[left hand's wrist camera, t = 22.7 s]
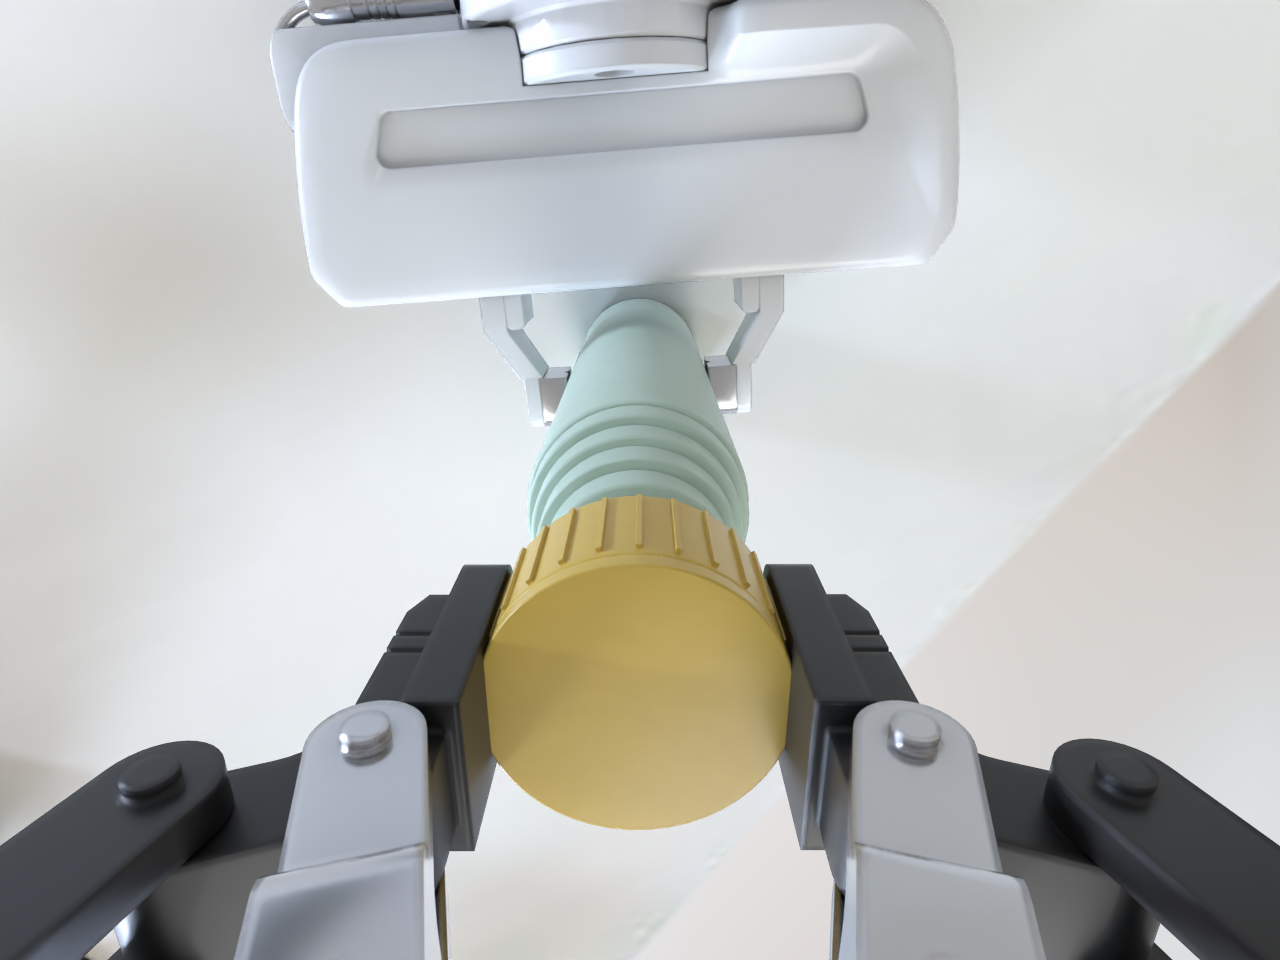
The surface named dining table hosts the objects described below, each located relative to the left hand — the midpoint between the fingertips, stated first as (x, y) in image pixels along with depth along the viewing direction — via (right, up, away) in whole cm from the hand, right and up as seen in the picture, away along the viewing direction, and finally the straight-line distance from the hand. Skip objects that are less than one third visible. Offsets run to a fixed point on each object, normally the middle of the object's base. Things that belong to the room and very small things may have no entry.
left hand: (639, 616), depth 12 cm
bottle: (0, +8, +20) cm, 22 cm away
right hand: (0, +5, +14) cm, 15 cm away
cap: (0, -1, -2) cm, 2 cm away
